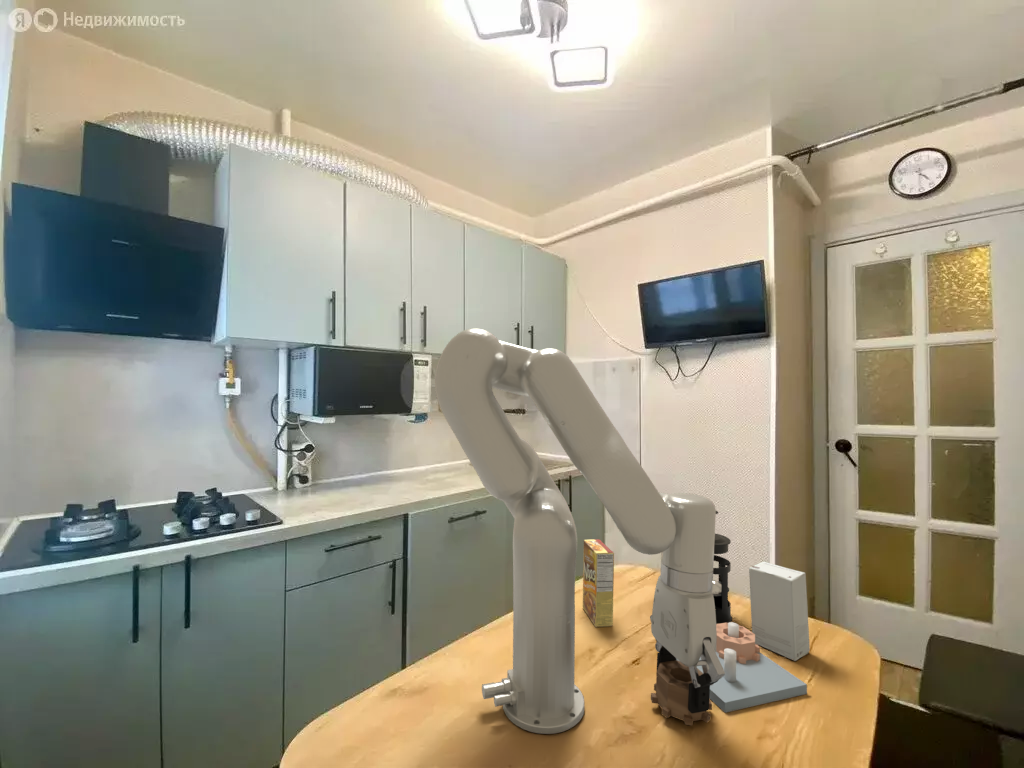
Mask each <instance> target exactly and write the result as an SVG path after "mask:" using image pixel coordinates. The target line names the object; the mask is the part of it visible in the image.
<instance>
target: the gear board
mask: <svg viewBox="0 0 1024 768" xmlns="http://www.w3.org/2000/svg"><path fill="white" fill-rule="evenodd" d="M716 632H717V641H716V655H717V657H718V659H719V661H720V663H721V665H722V667H723V669H724V672H725V675H724V676H723V677H722V678H721V679H719V680H718V682H716V683H714V684H713V685H711V686H710V697H709V700H710V701H711V702H713V703H714V704H715V705H716V706H717V707H718V708H720V710H721V711H722V712H724V713H729V712H733V711H738V710H742V709H747V708H750V707H751V708H752V707H754V706H755V707H756V706H759V705H765V704H769V703H773V702H776V701H777V702H778V701H781V700H786V699H790V698H791V699H792V698H795V697H798V696H803V695H808V685H807V683H806V682H804V681H802V680H801V679H800V678H798V677H796V676H795V675H794V674H793V673H791V672H789V671H788V670H787V669H785V668H783V667H782V666H780V665H779V664H778V663H777V662H775V661H773V660H772V659H771V658H769V657H768V656H766V655H765V654H763V653H761V652H760V651H761V646H760V645H757V644H755V634H754V633H752V630H751V631H750V630H749V629H748V628H746V627H744V626H743V625H739V624H738V623H736V622H733V621H731V622H729V623H720V624H716ZM676 660H677V661H679V660H678V659H677V658H676ZM699 660H701V657H700V659H699ZM697 668H698V669H699V670H700V671H701V672H702V673H703V669H702V666H697ZM703 674H704V673H703Z"/></svg>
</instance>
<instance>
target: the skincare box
mask: <svg viewBox="0 0 1024 768" xmlns="http://www.w3.org/2000/svg"><path fill="white" fill-rule="evenodd" d="M806 575H807V574H806V572H804V571H800V570H795V569H792V568H790V567H789V568H788V567H785V566H781V565H777V564H774V563H770V562H767V561H761V562H759V563H756V564H755V565H752V566H750V567H749V568H748V576H749V596H750V598H749V599H750V615H751V617H750V618H751V619H750V620H751V632H752V633H754V634H755V645H758V646H759V647H762V648H764V649H767V650H769V651H771V652H773V653H776V654H778V655H780V656H783V657H785V658H788V659H790V660H792V661H794V662H796V661H798V660H799V659H800V658H802V657H804V656H806V655H808V654H809V653H810V651H811V648H810V647H811V645H810V631H809V613H808V595H807V594H808V593H807V591H808V590H807V577H806Z"/></svg>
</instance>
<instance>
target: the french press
mask: <svg viewBox="0 0 1024 768" xmlns="http://www.w3.org/2000/svg"><path fill="white" fill-rule="evenodd" d="M716 515H719V511H718V510H716ZM730 544H731V538H729V537H728V536H725V535H722V534H720V533H715V541H714V562H717V563H718V567H713V575H718V580H715V579H713V590H712V594H713V597H714V603H715V613H716V624H720V623H729V622H733V617H732V613H731V611H732V610H731V602H730V601H729V592H730V588H729V573H730V572H731V567H732V566H731V561H730V560H728V559H727V558H724V557H723V556H720V555H721V554H722V555H723V554H727V553H728V552H729V545H730Z"/></svg>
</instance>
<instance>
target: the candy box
mask: <svg viewBox="0 0 1024 768" xmlns="http://www.w3.org/2000/svg"><path fill="white" fill-rule="evenodd" d="M582 558H583V562H582V563H583V567H582V570H583V572H582V573H583V574H582V609H583V610H584V612H585V613H586V615H587V616H588V618H589V619H590V621H591V622H592V624H593V626H594V627H595V628H601V627H603V628H605V627H613V625H614V623H613V622H614V618H613V617H614V585H615V584H614V582H615V580H614V579H615V574H614V573H615V572H614V570H615V568H614V567H615V552H614V551H612V550H611V548H609V547H608V546H607V545H606V544H605V543H604V542H602V540H601V539H597V538H595V539H592V538H591V539H583V557H582Z"/></svg>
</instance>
